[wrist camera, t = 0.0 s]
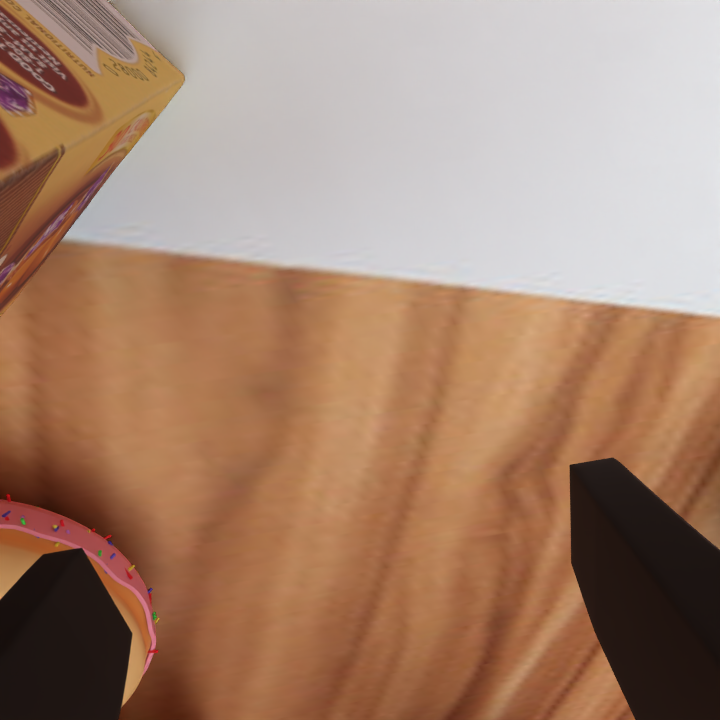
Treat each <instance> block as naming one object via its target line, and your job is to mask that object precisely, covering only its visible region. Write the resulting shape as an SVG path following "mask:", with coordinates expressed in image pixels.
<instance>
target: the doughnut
mask: <svg viewBox="0 0 720 720" xmlns="http://www.w3.org/2000/svg"><path fill="white" fill-rule="evenodd" d="M6 497H7V500H2V499H0V599H1V598H2V597H3V596H4V595H5V594H6V593H7V592H8V590H9V589H10V588H11V587H12V586H13V585H14V584H15V583H16V582H17V581H18V580H19V578H20V577H21V576H22V575H23V574H24V573H25V572H26V571H27V570H28V569H29V568H30V567H31V566H32V565H33V564H34V563H35V562H36V561H37V560H38V559H39V558H40V557H41V556H42V555H43V554H47V553H53V552H58V551H64V550H70V549H76V548H83V550H84V552H85V553H86V555H87V557H88V558H89V560H90V562H91V563H92V565H93V567H94V569H95V570H96V572H97V574H98V575H99V577H100V579H101V580H102V582H103V584H104V586H105V587H106V589H107V591H108V592H109V594H110V596H111V598H112V599H113V601H114V603H115V604H116V606H117V608H118V609H119V611H120V613H121V615H122V616H123V618H124V620H125V621H126V623H127V625H128V626H129V628H130V630H131V632H132V633H133V635H132V642H131V650H130V657H129V664H128V672H127V678H126V684H125V690H124V696H123V702H122V706H123V705H124V704H125V703H126V702H127V700H128V699H129V698H130V697H131V695H132V694H133V693H134V691H135V690H136V688H137V686H138V685H139V683H140V680H141V678H142V676H143V675H144V673H145V672H146V670H147V668H148V666H149V664H150V662H151V659H152V656H153V654H154V653H158V650H155V646H156V631H155V625H156V624H157V622H158V621H159V618H157V616H156V615H155V614H156V612H153V610H152V605H151V593H150V592H151V591H152V590H153V589H152V588H150V589H149V590H148V591H147V588H146V586H145V584H144V582H143V580H142V579H141V577H140V576H139V572H138V571H136V570H135V568H134V567H135V565H132V564H131V563H130V562H129V561H128V559H127V558H126V557H125V556H124V555H123V554H122V553H121V552H120V551H119V550H118V549H117V548H116V547H114V546H113V544H112V542H111V541H107V540H106V539H108V538H110V537H112V536H111V534H110V535H108V536H106V537H101V536H100V535H98V534H97V533H95V529H92V530H90V529H89V528H87V527H85V526H83V525H81V524H80V523H78V522H76V521H73V520H71V519H69V518H67V517H64V516H62V515H60V514H57V513H54V512H51V511H49V510H45V509H42V508H39V506H32V505H28V504H24V503H19V502H14V501H11V498H10V494H7V495H6ZM156 618H157V619H156ZM155 619H156V620H155ZM154 620H155V621H154ZM122 706H121V707H122Z"/></svg>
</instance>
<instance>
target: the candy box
mask: <svg viewBox="0 0 720 720" xmlns="http://www.w3.org/2000/svg"><path fill="white" fill-rule="evenodd" d="M184 81H185V77H184V75H183V74H182V73H181V72H180V71H179V70H178V69H177V68H176V67H174V66H173V65H172V64H171V63H170V62H169V61H168V60H167V59H166V58H165V57H164V56H163V55H162V54H161V53H160V52H158V51H157V50H156V49H155V48H154V47H153V46H152V45H151V44H150V43H149V42H148V41H147V40H146V39H145V38H144V37H143V36H142V35H141V34H140V33H139V32H138V31H137V30H136V29H135V28H134V27H133V26H132V25H131V24H130V23H129V22H128V21H127V20H126V19H125V18H124V17H123V16H122V15H121V14H120V13H119V12H118V11H117V10H116V9H115V8H114V7H113V6H112V5H111V4H110V3H109V2H108V1H107V0H0V316H1V315H2V314H3V313H4V312H5V311H6V310H7V309H8V308H9V306H10V305H11V304H12V303H13V301H14V300H15V299H16V298H17V296H18V295H19V294H20V292H21V291H22V290H23V288H24V287H25V286H26V284H27V283H28V282H29V281H30V279H31V278H32V277H33V275H34V274H35V273H36V272H37V270H38V269H39V268H40V266H41V265H42V264H43V263H44V261H45V260H46V259H47V257H48V256H49V255H50V253H51V252H52V251H53V250H54V249H55V247H56V246H57V245H58V243H59V242H60V241H61V240H62V238H63V237H64V236H65V234H66V233H67V232H68V230H69V229H70V228H71V226H72V225H73V224H74V222H75V221H76V220H77V218H78V217H79V216H80V215H81V213H82V212H83V211H84V210H85V208H86V207H87V206H88V204H89V203H90V202H91V200H92V199H93V197H94V196H95V195H96V193H97V192H98V191H99V190H100V188H101V187H102V185H103V184H104V183H105V182H106V180H107V179H108V178H109V176H110V175H111V174H112V172H113V171H114V170H115V169H116V167H117V166H118V165H119V164H120V162H121V161H122V160H123V159H124V158H125V156H126V155H127V154H128V153H129V152H130V150H131V149H132V148H133V147H134V145H135V144H136V143H137V142H138V140H139V139H140V138H141V137H142V135H143V134H144V133H145V132H146V130H147V129H148V128H149V127H150V125H151V124H152V123H153V122H154V120H155V119H156V118H157V117H158V116H159V114H160V113H161V112H162V111H163V109H164V108H165V107H166V106H167V104H168V103H169V102H170V100H171V99H172V98H173V96H174V95H175V94H176V93H177V91H178V90H179V89H180V87H181V86H182V85H183V83H184Z"/></svg>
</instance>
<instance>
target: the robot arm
mask: <svg viewBox="0 0 720 720" xmlns="http://www.w3.org/2000/svg"><path fill="white" fill-rule="evenodd" d="M570 510H571V563H572V566H573V569H574V572H575V575H576V578H577V581H578V584H579V587H580V590H581V593H582V596H583V599H584V602H585V605H586V608H587V611H588V614H589V617H590V619H591V622H592V625H593V628H594V631H595V633H596V635H597V638H598V640H599V642H600V644H601V646H602V649H603V651H604V653H605V655H606V657H607V659H608V662H609V664H610V666H611V668H612V670H613V672H614V675H615V677H616V679H617V681H618V683H619V685H620V687H621V690H622V692H623V694H624V696H625V698H626V700H627V702H628V705H629V707H630V709H631V711H632V713H633V715H634V717H635V720H720V550H719V549H718V548H717V547H716V546H714V545H713V544H712V543H711V542H710V541H708V540H707V539H706V538H705V537H704V536H703V535H701V534H700V533H699V532H698V531H697V530H695V529H694V528H693V527H692V526H691V525H690V524H688V523H687V522H686V521H685V520H684V519H683V518H682V517H680V516H679V515H678V514H677V513H676V512H675V511H673V510H672V509H671V508H670V507H669V506H668V505H667V504H666V503H664V502H663V501H662V500H661V499H660V498H659V497H658V496H657V495H655V494H654V493H653V492H652V491H651V490H650V489H649V488H648V487H647V486H645V485H644V484H643V483H642V482H641V481H640V480H639V479H638V478H637V477H636V476H634V475H633V474H632V473H631V472H630V471H629V470H628V469H627V468H626V467H625V466H623V465H622V464H621V463H620V462H619V461H617V460H616V459H614V458H608V459H602V460H596V461H590V462H584V463H578V464H572V465H570ZM132 635H133V633H132V632H131V630H130V628H129V626H128V625H127V623H126V621H125V620H124V618H123V616H122V615H121V613H120V611H119V609H118V608H117V606H116V604H115V603H114V601H113V599H112V598H111V596H110V594H109V592H108V591H107V589H106V587H105V586H104V584H103V582H102V580H101V579H100V577H99V575H98V574H97V572H96V570H95V569H94V567H93V565H92V563H91V562H90V560H89V558H88V557H87V555H86V553H85V552H84V550H83V548H76V549H70V550H64V551H58V552H53V553H47V554H43V555H42V556H41V557H40V558H39V559H38V560H37V561H36V562H35V563H34V564H33V565H32V566H31V567H30V568H29V569H28V570H27V571H26V572H25V573H24V574H23V575H22V576H21V577H20V578H19V580H18V581H17V582H16V583H15V584H14V585H13V586H12V587H11V588H10V589H9V590H8V592H7V593H6V594H5V595H4V596H3V597H2V598H1V599H0V720H118V718H119V714H120V710H121V706H122V702H123V696H124V690H125V684H126V678H127V672H128V664H129V657H130V650H131V642H132Z"/></svg>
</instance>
